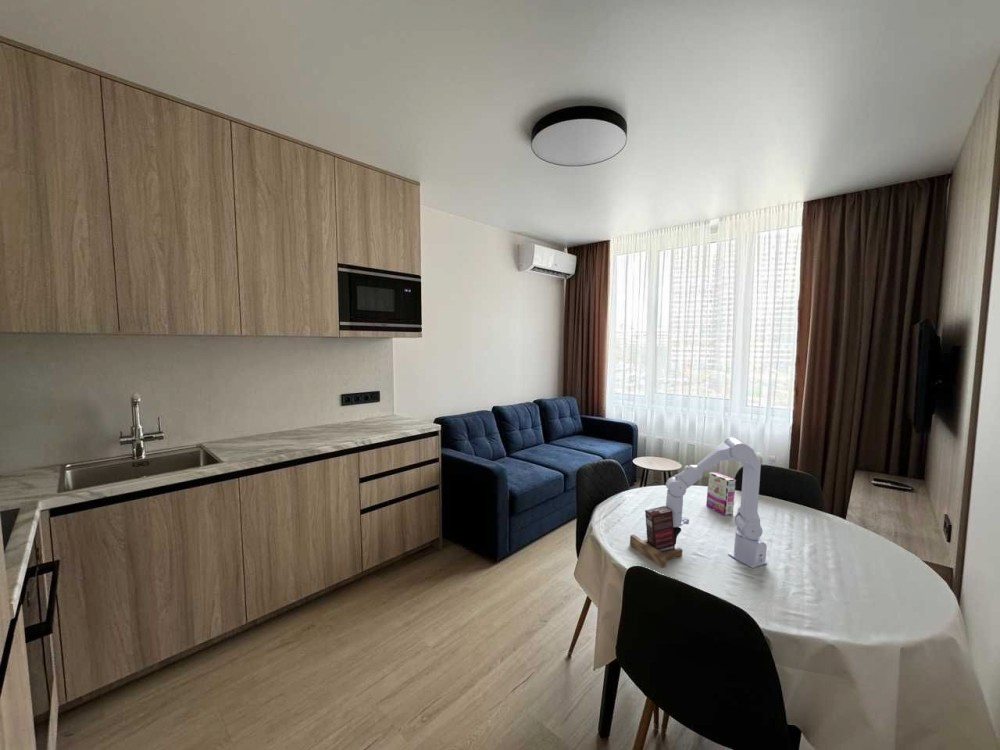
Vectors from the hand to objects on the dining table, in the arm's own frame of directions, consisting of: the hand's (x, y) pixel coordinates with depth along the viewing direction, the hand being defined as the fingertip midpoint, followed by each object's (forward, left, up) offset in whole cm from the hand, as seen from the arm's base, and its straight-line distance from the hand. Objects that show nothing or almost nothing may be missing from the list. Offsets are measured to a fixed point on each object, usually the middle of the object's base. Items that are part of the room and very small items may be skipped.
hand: (671, 544), depth 154 cm
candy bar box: (+17, -48, -2) cm, 51 cm away
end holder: (0, +6, -2) cm, 6 cm away
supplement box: (0, +5, -1) cm, 5 cm away
